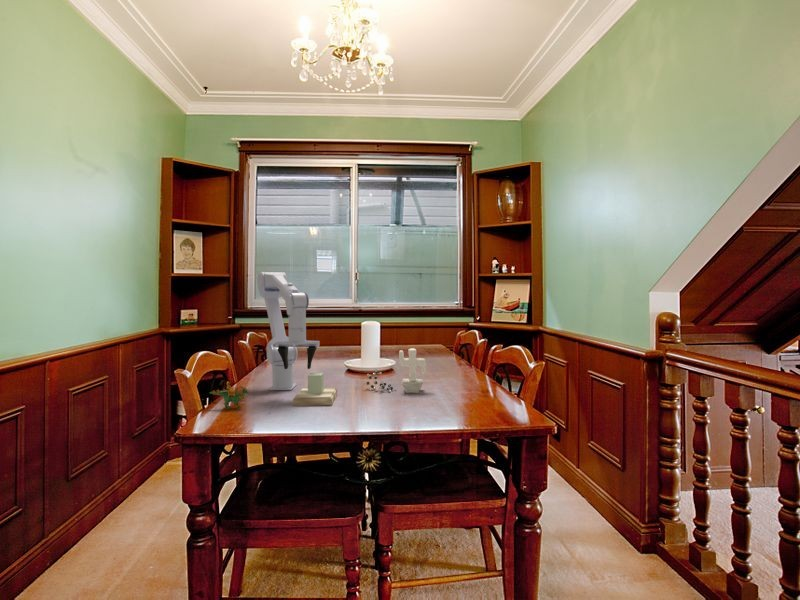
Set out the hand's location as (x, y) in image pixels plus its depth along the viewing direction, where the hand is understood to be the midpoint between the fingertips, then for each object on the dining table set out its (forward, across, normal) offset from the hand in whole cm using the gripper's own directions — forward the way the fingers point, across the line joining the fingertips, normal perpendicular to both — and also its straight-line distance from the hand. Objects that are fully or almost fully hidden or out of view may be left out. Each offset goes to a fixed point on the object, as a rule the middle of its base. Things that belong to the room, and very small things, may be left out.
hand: (297, 368), depth 153 cm
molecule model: (+10, +27, +8) cm, 30 cm away
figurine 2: (+10, +39, +6) cm, 41 cm away
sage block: (+7, +7, -5) cm, 11 cm away
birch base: (+9, +7, -5) cm, 13 cm away
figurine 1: (+10, -18, -14) cm, 25 cm away
